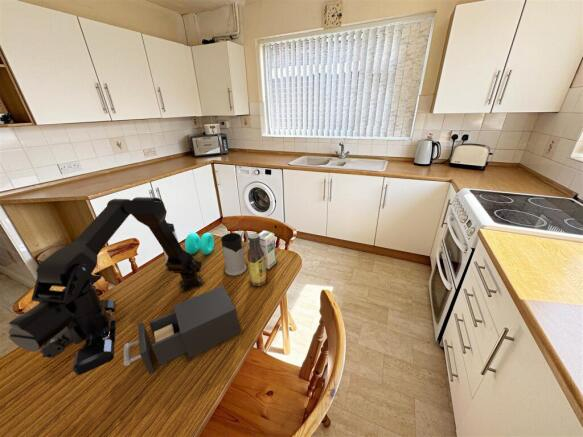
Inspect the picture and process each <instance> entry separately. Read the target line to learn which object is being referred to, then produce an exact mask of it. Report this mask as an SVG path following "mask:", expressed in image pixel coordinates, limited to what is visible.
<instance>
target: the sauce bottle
mask: <svg viewBox="0 0 583 437" xmlns="http://www.w3.org/2000/svg"><path fill="white" fill-rule="evenodd" d="M259 239H260V236H259V233H255V232H253V233H250V234H248V246H249V248H247V249H248V250H247V252H246V253H247V254H246V255H247V266H248V267H247V268H248V274H249V280H250V283H251V285H252V286H255V287H260V286H263V285H264V284H266V282H267V268H266V267H265V256H264V252H263V250H262V248H261V246H260V240H259Z"/></svg>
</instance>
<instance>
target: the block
mask: <svg viewBox="0 0 583 437" xmlns="http://www.w3.org/2000/svg"><path fill="white" fill-rule="evenodd" d="M173 334H175V332H174V329H173V326H172V324H171V325H168V326H166V327H164V328H161V329H159V330H157V331H155V332H154V335H155V338H154V343H156V342H158V341H160V340H162V339H164V338H167V337H169V336H171V335H173ZM154 335H153V336H154Z"/></svg>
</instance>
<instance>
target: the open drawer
mask: <svg viewBox="0 0 583 437" xmlns="http://www.w3.org/2000/svg"><path fill="white" fill-rule="evenodd" d="M171 324H172V326H173V329H174V332H175V334H173V335H171V336H169V337H167V338H164V339H162V340H160V341H158V342H156V343H155V342H153V343H152V340H151V338H150V335H149V333H148V330H147V328H146V326H145V323H144V321H142V322H140V323H137V328H138V329H137V331H138V339H137V340H134V341H132V342H126V343H125V344H124V345H123V366H124V367H128V366H130V365H131V363H133V362H135V361H136V360H139V359H142V362H143V363H144V366H145V368H146V371H147V372H148V374H149V375H151V374H153V373H155V362H154V355H155V358H156V361H157V363H158V365H159V366H162V365H164V364H166V363H169V362H170V361H172V360H174V359H176V358H178V357H180V356H182V355H184V354H187V351H186V348H185V345H184V342H183V339H182V336H181V333H180V329H179V325H178V321H177V317H176V313H175V310H174V311H172V312H169V313H167V314H164V315H162V316H160V317H157V318H155V319H152V320H150V321H148V325H149V327H150V330H151V332H152V335H153V337H154V339H155V335H154V332H155V331H157V330H159V329H161V328H164V327H166V326H168V325H171ZM136 345H138V346H139V354H137V355H135V356H133V357H132V356H131V347H133V346H136ZM153 353H154V355H153Z"/></svg>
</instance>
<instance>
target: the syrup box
mask: <svg viewBox="0 0 583 437" xmlns="http://www.w3.org/2000/svg"><path fill="white" fill-rule="evenodd" d="M258 234H259V236H260V239H259V240H260V246H261V248H262V250H263V252H264V256H265V267H266V270H270V269H271V268H272V267H273V266H274V265H275V264H276V263H278V261H277V259H278V258H277V250H276V249H277V248H276V240H275V233H274V232H271V231H268V230H262V231H260V232H258Z"/></svg>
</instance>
